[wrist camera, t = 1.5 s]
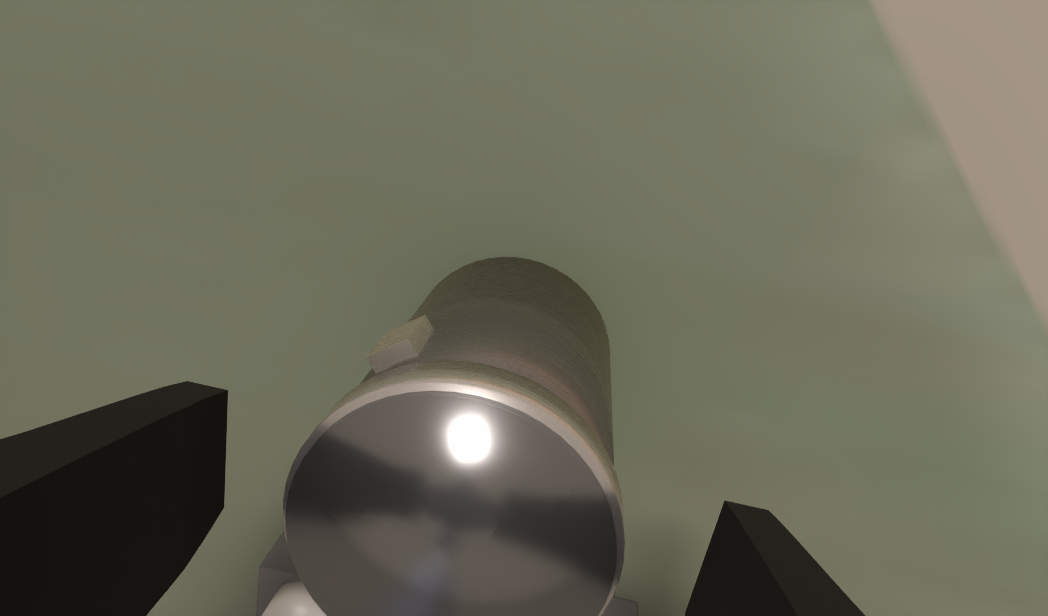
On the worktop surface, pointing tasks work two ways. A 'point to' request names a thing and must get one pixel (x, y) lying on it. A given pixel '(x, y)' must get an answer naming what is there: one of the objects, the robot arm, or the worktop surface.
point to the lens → (468, 460)
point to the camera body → (294, 612)
